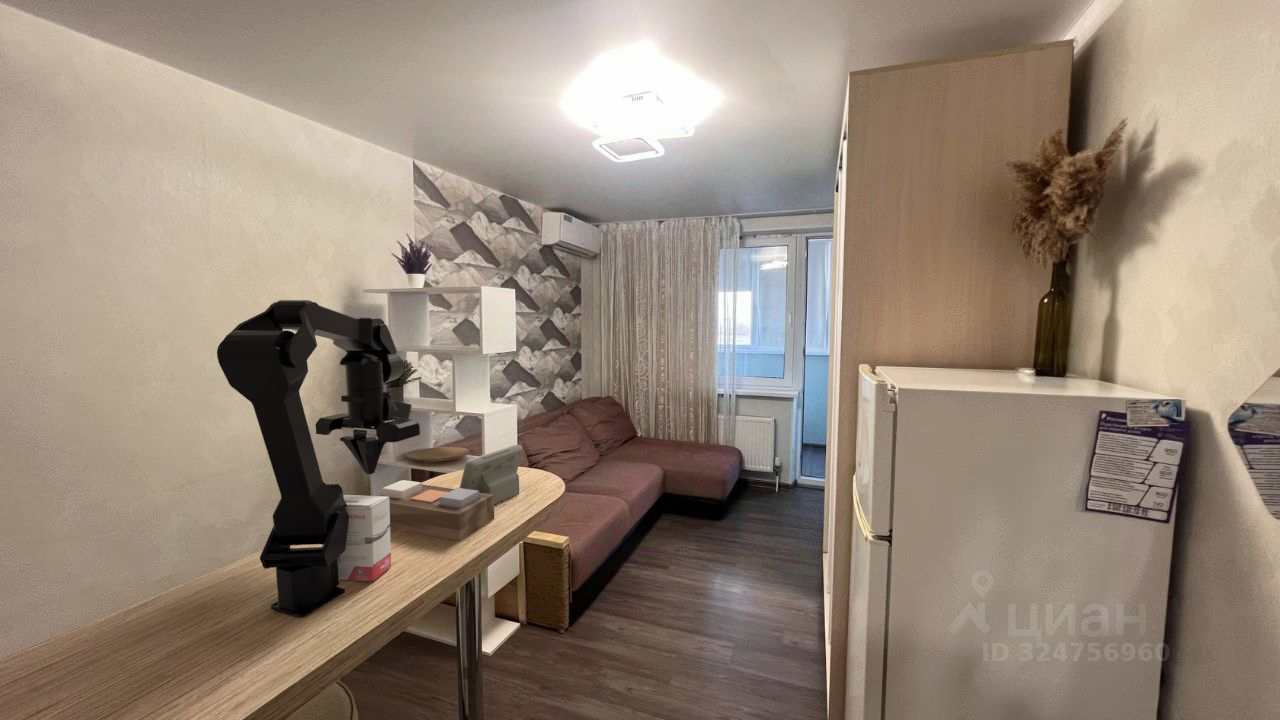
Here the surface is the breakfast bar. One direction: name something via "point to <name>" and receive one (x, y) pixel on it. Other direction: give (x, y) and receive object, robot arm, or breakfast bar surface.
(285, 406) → the robot arm
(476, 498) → the grey key
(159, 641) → the breakfast bar surface
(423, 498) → the terracotta key
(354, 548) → the ink box
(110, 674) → the breakfast bar surface
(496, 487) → the digital clock
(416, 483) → the cream key
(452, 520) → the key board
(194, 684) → the breakfast bar surface
